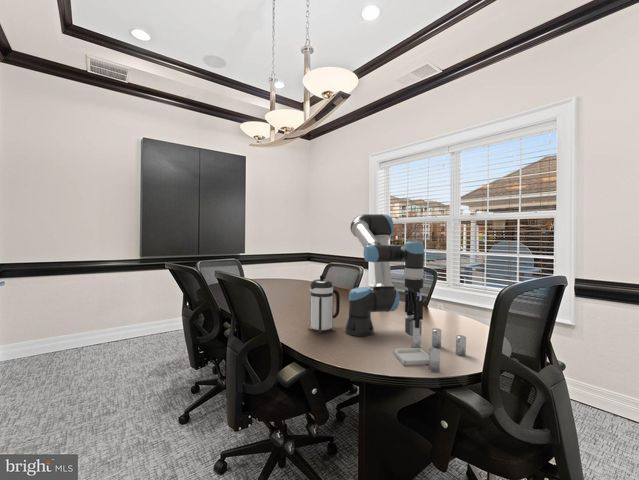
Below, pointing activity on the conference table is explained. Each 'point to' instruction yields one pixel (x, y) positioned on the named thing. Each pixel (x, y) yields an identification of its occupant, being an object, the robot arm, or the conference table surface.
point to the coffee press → (322, 304)
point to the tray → (411, 356)
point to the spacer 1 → (416, 341)
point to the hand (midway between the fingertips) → (413, 332)
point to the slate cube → (411, 326)
